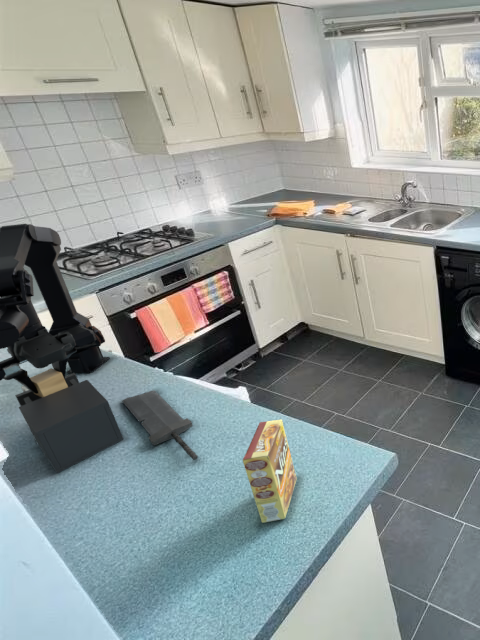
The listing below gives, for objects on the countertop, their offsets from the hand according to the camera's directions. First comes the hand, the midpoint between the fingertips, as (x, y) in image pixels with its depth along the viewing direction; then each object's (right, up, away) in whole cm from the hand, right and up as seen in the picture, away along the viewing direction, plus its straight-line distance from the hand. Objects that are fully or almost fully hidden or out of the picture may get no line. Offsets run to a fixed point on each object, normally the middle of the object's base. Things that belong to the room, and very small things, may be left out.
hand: (49, 387), depth 92 cm
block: (0, -1, 0) cm, 1 cm away
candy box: (+57, -18, -13) cm, 61 cm away
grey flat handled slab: (+22, -10, +4) cm, 25 cm away
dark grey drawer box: (+8, -12, -1) cm, 14 cm away
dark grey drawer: (-1, -9, +4) cm, 10 cm away
